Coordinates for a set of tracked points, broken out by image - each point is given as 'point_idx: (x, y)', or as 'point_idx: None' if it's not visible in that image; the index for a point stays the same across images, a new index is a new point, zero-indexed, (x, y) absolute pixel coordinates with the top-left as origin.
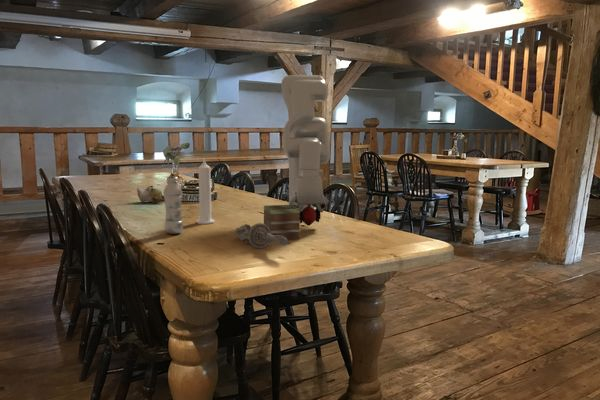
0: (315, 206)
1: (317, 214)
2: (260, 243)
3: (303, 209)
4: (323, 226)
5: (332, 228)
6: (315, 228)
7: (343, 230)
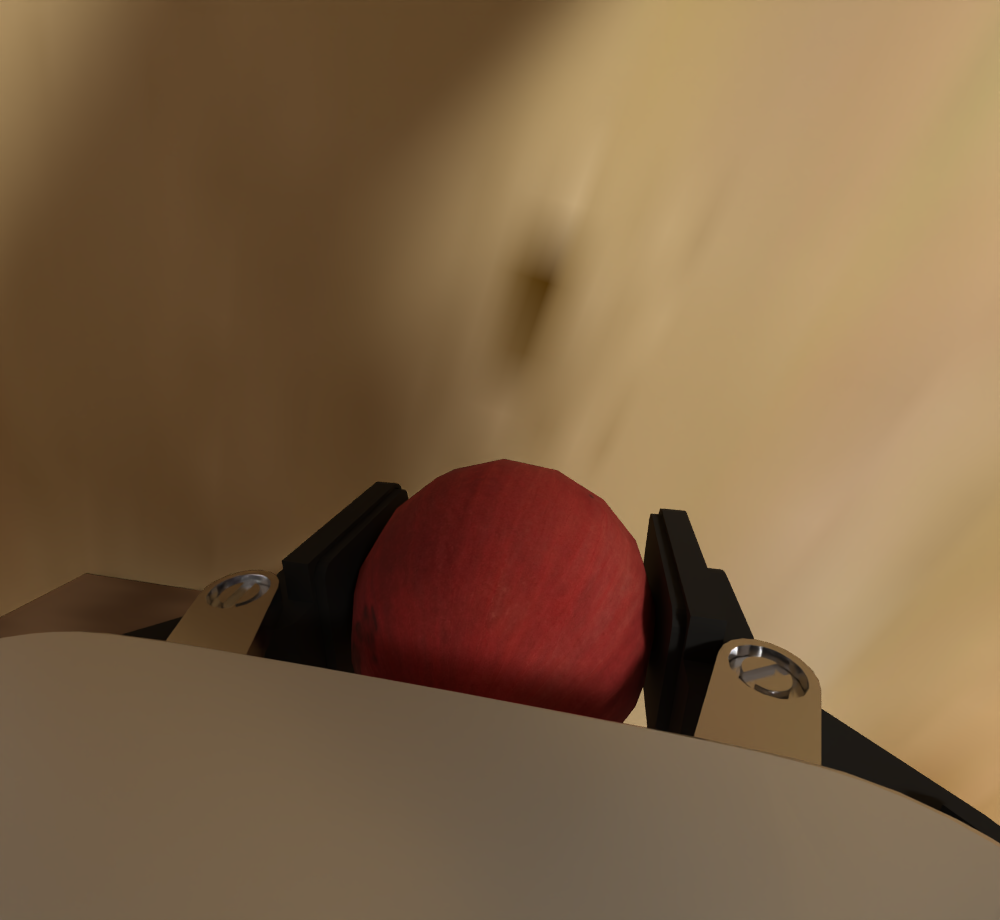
0: (698, 721)
1: (647, 711)
2: None
3: (362, 648)
4: (798, 448)
5: (842, 602)
6: (624, 523)
7: (903, 738)
